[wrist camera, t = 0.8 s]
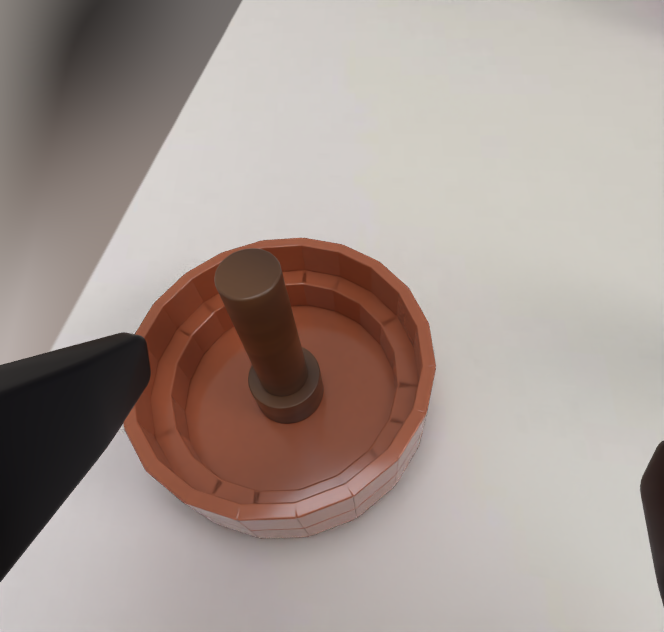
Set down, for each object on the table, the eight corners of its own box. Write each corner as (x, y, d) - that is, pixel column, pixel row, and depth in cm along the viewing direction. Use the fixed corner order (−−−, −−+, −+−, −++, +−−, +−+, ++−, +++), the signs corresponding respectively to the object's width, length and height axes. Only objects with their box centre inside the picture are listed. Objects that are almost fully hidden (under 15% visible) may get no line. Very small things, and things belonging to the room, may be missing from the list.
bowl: (321, 612, 20) (307, 607, 16) (108, 433, 25) (55, 395, 21) (470, 362, 26) (489, 311, 22) (273, 260, 31) (257, 204, 27)
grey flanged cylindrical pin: (296, 437, 23) (252, 332, 15) (242, 400, 25) (175, 285, 16) (337, 382, 25) (317, 259, 17) (284, 350, 26) (242, 222, 18)
